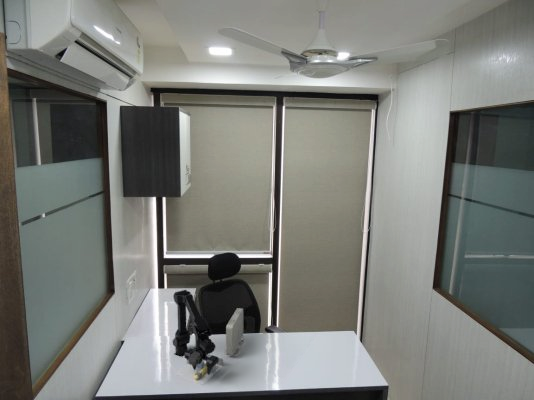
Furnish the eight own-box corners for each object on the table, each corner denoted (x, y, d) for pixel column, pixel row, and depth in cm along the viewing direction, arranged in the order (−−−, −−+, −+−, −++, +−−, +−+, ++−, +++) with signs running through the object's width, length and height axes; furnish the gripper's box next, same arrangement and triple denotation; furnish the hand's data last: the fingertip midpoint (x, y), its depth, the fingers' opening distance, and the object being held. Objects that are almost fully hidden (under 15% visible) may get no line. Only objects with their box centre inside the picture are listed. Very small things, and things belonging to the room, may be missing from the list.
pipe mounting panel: (174, 375, 185) (173, 366, 184) (195, 357, 201) (195, 348, 200) (202, 385, 176) (202, 376, 175) (223, 366, 192) (222, 357, 192)
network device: (236, 360, 198) (236, 327, 196) (221, 358, 200) (221, 326, 197) (246, 337, 223) (246, 308, 221) (233, 336, 225) (233, 306, 222)
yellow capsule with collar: (197, 381, 179) (197, 377, 178) (193, 379, 180) (192, 375, 180) (209, 369, 188) (209, 365, 188) (205, 368, 190) (205, 364, 189)
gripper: (177, 347, 179) (177, 375, 181) (206, 357, 171) (206, 386, 173) (190, 337, 189) (191, 364, 191) (219, 346, 181) (219, 373, 183)
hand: (201, 372), depth 184 cm, fingers open, 9 cm apart
